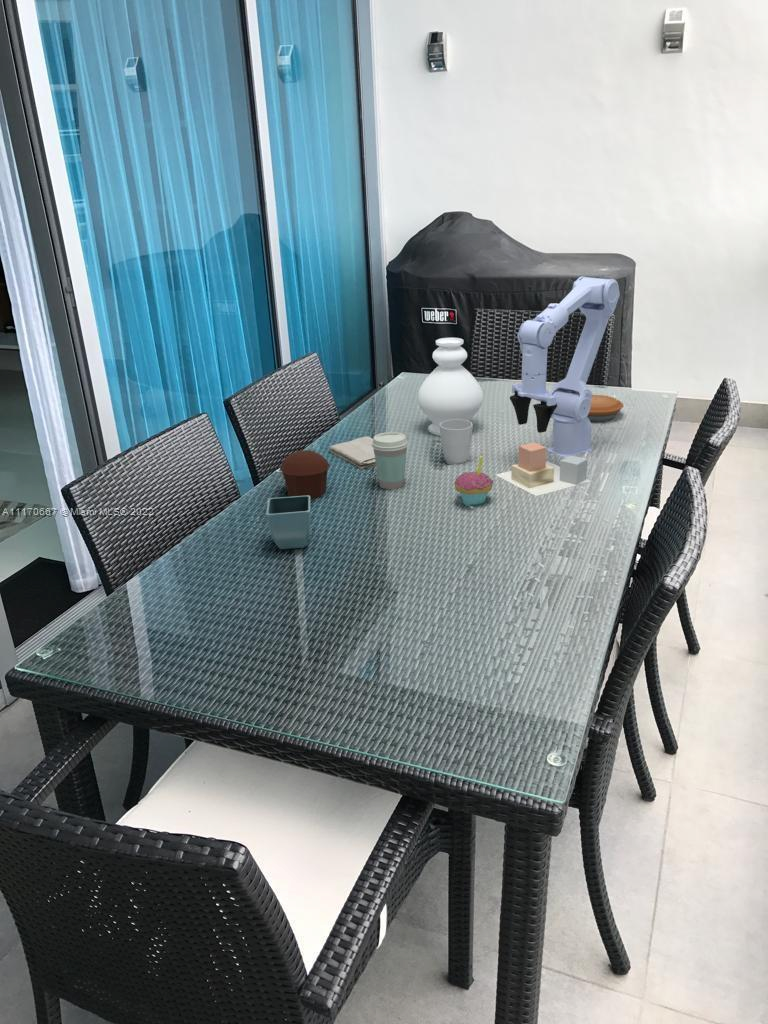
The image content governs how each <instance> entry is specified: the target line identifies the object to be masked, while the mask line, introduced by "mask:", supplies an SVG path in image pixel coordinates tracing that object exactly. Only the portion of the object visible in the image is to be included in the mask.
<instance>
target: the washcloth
mask: <svg viewBox="0 0 768 1024" xmlns="http://www.w3.org/2000/svg"><path fill="white" fill-rule="evenodd" d="M373 439H374V438H372V437H370V436H362V437H357V438H355V439H352V440H350V441H347V442H346V441H344V442H339V443H337V444H333V445H330V446H329V447H328V449H329V450H328V452H331V454H333V455H334V456H336V455H337V456H336V457H339V458H340V459H341V458H342V459H341V460H343V461H346V462H347V463H349V464H351V465H352V466H355V467H357V468H358V469H359V470H364V469H371V468H372V469H373V468H375V467H376V461H375V455H374V449H373V447H372V442H373ZM376 468H377V467H376Z"/></svg>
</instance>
